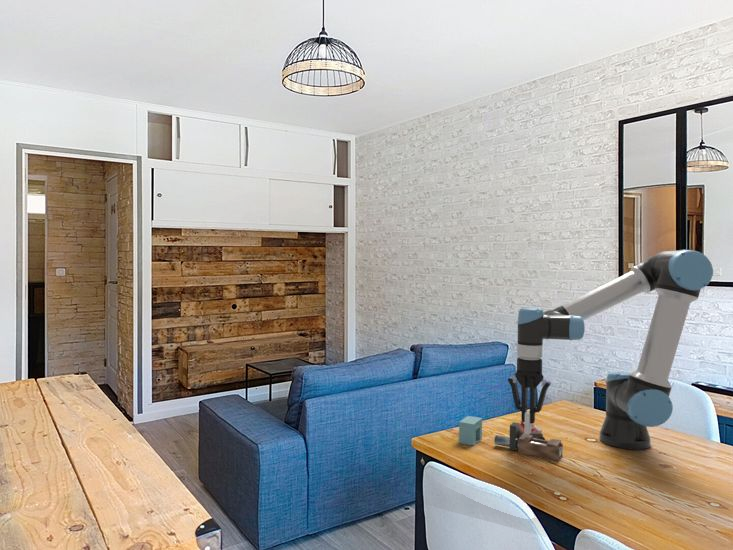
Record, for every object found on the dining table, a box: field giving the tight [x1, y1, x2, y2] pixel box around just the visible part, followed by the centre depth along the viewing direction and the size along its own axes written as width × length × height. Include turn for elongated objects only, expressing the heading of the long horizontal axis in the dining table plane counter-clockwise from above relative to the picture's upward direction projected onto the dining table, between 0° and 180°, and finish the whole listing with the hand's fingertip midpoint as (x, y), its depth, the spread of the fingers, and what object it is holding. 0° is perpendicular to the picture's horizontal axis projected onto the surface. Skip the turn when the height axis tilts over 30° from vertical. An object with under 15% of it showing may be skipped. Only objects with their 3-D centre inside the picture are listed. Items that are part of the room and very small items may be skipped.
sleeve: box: [517, 434, 564, 462], centre depth 164 cm, size 12×6×5 cm, turn 59°
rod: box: [493, 422, 563, 458], centre depth 166 cm, size 20×4×8 cm, turn 59°
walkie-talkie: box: [519, 420, 546, 440], centre depth 184 cm, size 9×4×20 cm
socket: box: [458, 415, 483, 446], centre depth 175 cm, size 5×8×7 cm, turn 149°
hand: (527, 432), depth 166 cm, fingers closed
